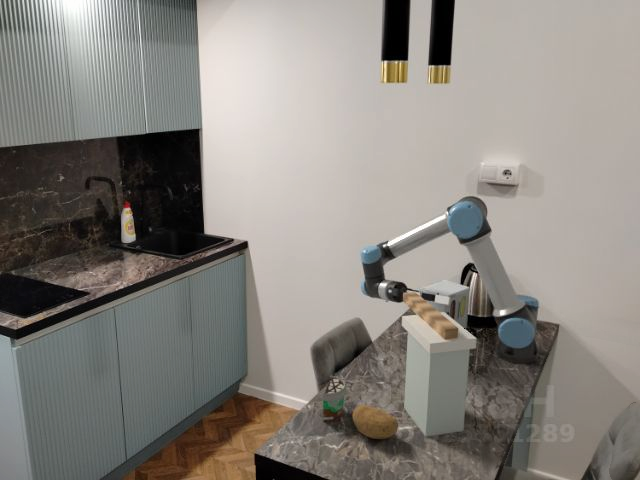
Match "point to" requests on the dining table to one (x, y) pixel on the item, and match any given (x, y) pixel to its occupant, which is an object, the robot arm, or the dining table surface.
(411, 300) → the oak slat
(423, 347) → the box
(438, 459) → the dining table surface
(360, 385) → the dining table surface
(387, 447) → the dining table surface
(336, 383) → the food container
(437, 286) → the supplement box
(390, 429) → the potato
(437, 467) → the dining table surface
